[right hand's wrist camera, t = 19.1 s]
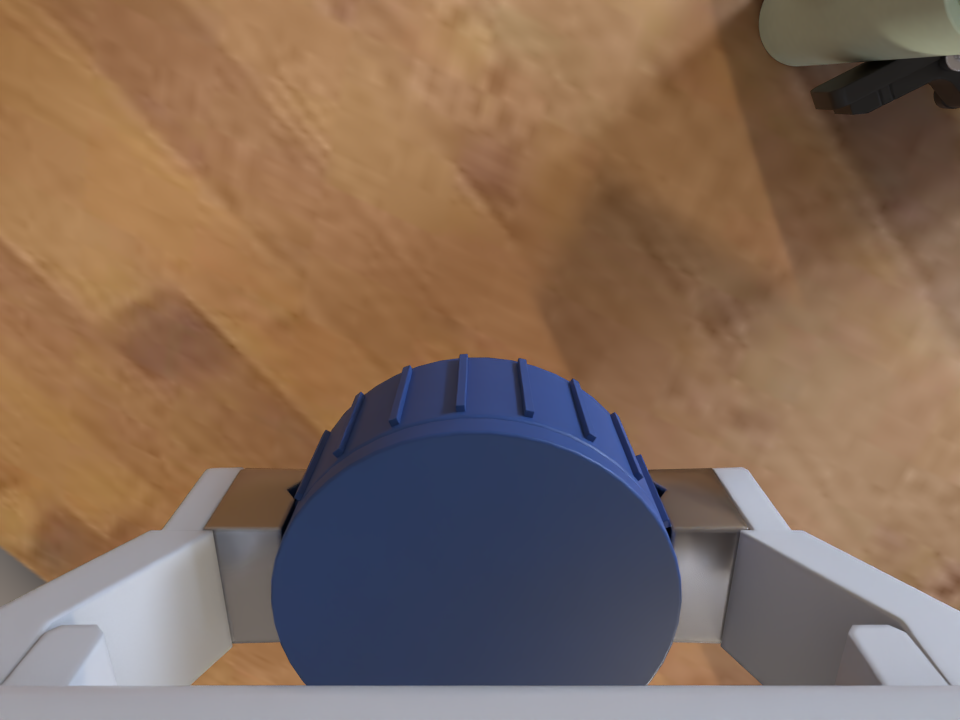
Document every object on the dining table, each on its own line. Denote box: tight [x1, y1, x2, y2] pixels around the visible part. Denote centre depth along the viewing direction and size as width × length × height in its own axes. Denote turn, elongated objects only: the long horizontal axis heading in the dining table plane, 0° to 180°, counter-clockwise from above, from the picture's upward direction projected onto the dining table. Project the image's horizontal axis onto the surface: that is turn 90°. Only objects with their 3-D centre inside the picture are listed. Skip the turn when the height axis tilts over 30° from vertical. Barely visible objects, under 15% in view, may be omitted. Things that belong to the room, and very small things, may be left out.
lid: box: [271, 354, 682, 686], centre depth 9 cm, size 5×5×2 cm
